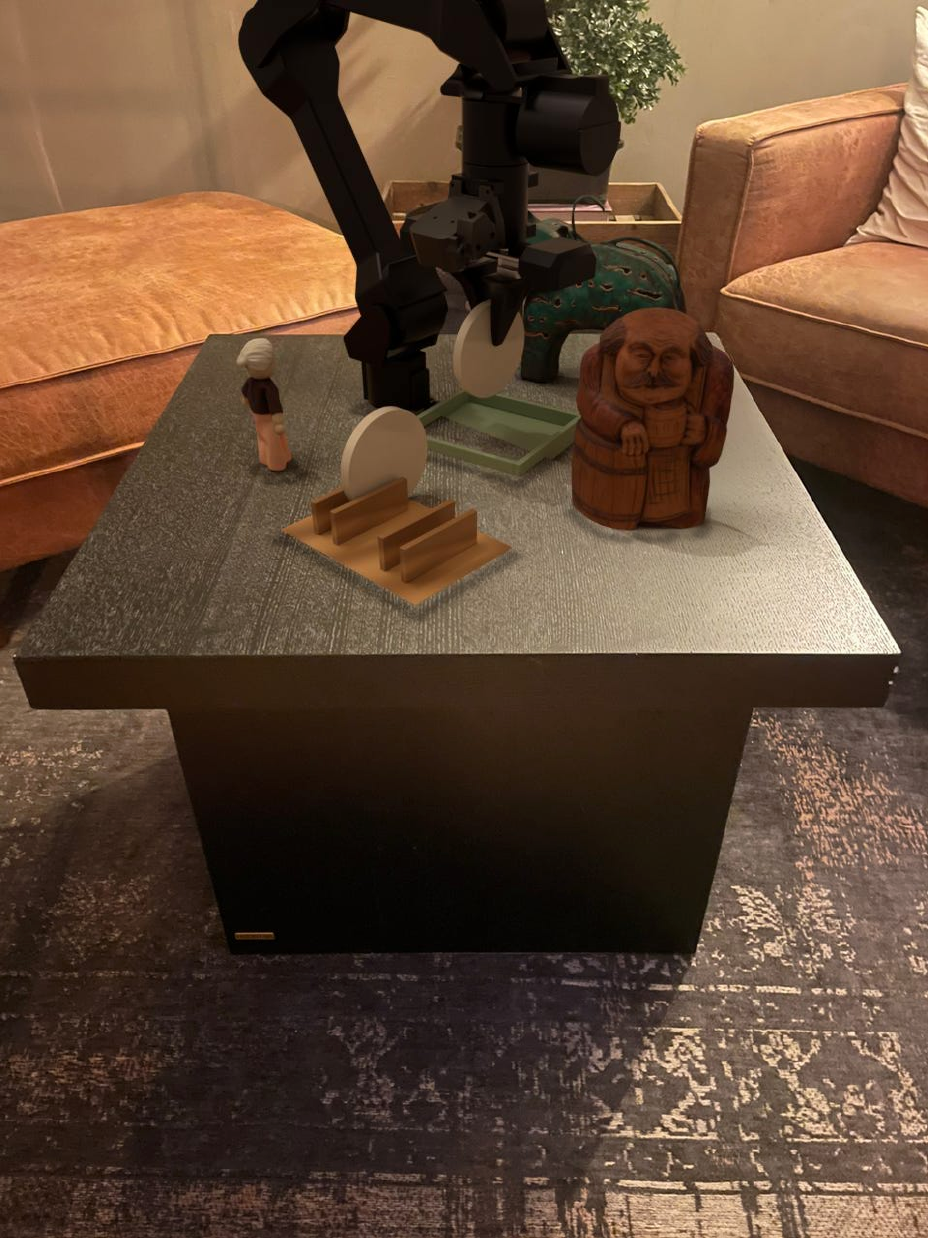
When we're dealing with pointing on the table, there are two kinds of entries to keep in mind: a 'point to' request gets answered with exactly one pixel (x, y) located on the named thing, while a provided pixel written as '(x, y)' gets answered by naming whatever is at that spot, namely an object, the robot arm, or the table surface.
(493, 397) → the tray
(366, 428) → the plate
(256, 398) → the grandmother figurine
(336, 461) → the table surface
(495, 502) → the table surface
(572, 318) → the ceramic cat
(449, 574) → the plate rack
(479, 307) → the plate
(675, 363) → the wooden figurine
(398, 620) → the table surface
